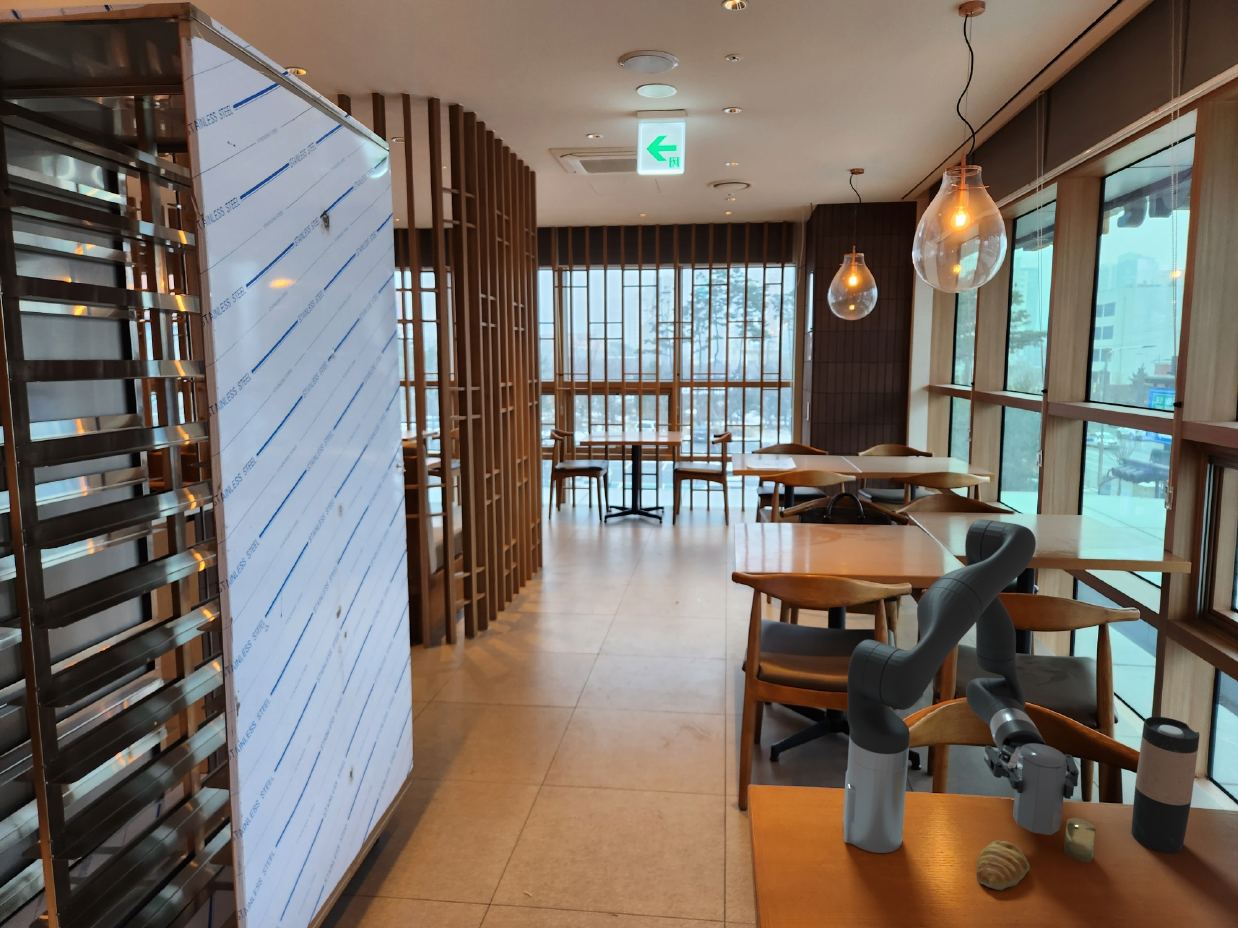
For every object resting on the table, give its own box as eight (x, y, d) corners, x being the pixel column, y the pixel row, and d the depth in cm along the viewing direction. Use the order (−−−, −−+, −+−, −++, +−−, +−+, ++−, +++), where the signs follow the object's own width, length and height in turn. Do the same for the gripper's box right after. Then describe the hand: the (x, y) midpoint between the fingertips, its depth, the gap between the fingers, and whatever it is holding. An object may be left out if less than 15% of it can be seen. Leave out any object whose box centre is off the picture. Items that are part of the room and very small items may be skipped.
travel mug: (1124, 839, 132) (1138, 727, 129) (1134, 819, 137) (1148, 711, 134) (1180, 860, 127) (1196, 744, 123) (1188, 838, 132) (1204, 726, 129)
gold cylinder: (1068, 859, 127) (1071, 831, 126) (1060, 844, 131) (1063, 816, 130) (1096, 863, 126) (1099, 834, 125) (1087, 847, 130) (1090, 819, 129)
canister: (1020, 830, 127) (1026, 761, 125) (1009, 807, 133) (1016, 741, 131) (1063, 836, 126) (1071, 766, 124) (1051, 812, 132) (1058, 745, 130)
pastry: (1011, 901, 118) (1013, 878, 117) (964, 880, 122) (966, 857, 122) (1031, 871, 124) (1033, 848, 124) (986, 852, 129) (988, 830, 128)
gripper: (975, 713, 143) (997, 763, 127) (1063, 722, 140) (1097, 774, 124) (972, 752, 144) (993, 806, 128) (1059, 761, 141) (1092, 818, 125)
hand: (1044, 790), depth 126 cm, fingers closed on canister, 6 cm apart
